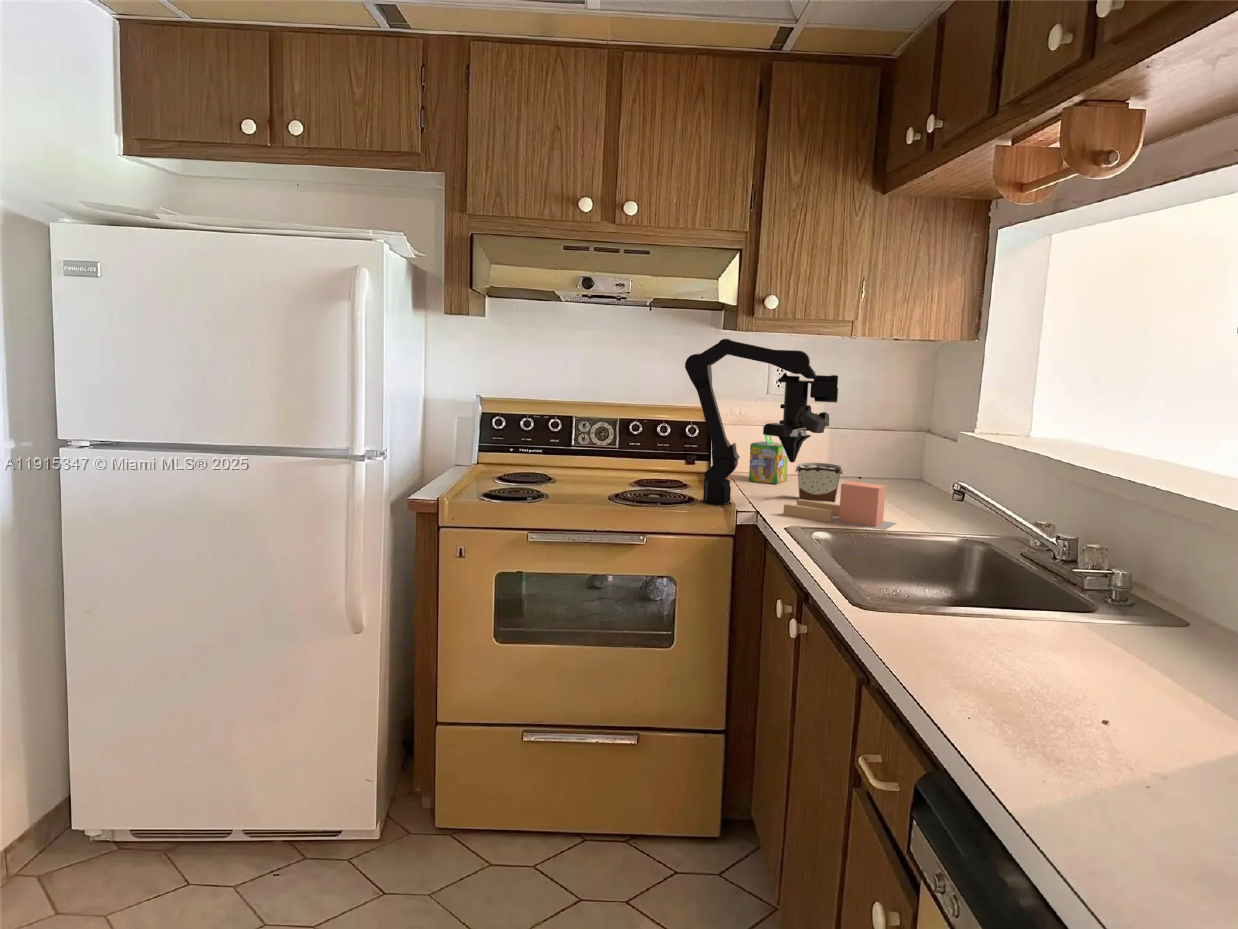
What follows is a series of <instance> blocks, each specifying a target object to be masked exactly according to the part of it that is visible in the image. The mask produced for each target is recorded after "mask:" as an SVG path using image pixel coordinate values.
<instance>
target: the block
mask: <svg viewBox="0 0 1238 929" xmlns="http://www.w3.org/2000/svg"><path fill="white" fill-rule="evenodd" d="M886 488H887V487H886V485H882V484H875V483H868V482H858V481H850V480H848V481H845V482H843V483H841V484H840V498H839V505H840V509H839V521H843V522H849V523H856V524H863V525H869V526H878V525H880V524H882V523H883V521H884V515H885V514H884V512H885V500H886V499H885V498H886Z"/></svg>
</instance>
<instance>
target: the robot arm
mask: <svg viewBox="0 0 1238 929" xmlns="http://www.w3.org/2000/svg"><path fill="white" fill-rule="evenodd" d="M726 356H734V357H736V358H742V359H747V360H752V361H757V362H761V363H765V364H770V365H772V366H775V367H777V368H779V369H781V370H783V371H786V372H784V373H783V374H782V375H781V377H779V378H778V379H777V382H778V383H785V384H784V399H783V400H784V401H783V403H781V404H780V406H779V407H780V409H783V416H782V419H781V420H779V423H777V422H770V423H769V422H768V423H766V424H764V426H763V428H762V434H763V435H764V436H765V435H771V437H776V438H779V441H780V443H782V445H783V447H784V449H785V452H786V454H787V457H788V461H789V463H795V462H796V459H797V457H798V455H799V452H800V450H801V448H802V445H803V444H804V441H806V440H807V439H808V438H811V436H812V435H811V434H807V431H808V432H809V433H810V432H811V433H812V434H823V433H824V431H825V428H826V427H829V426H830V414H829V413H827V412H825V411H822V412H819V413H814V412H812V407H811V405H810V404H808V395H809V384H810V395H809V396H810V398H812V399H814V402H817V403H835V404H836V403H838V395H839V387H838V385H839V375H837V374H831V375H824V374H823V375H821V374H820V375H818V374H816V371H815V370H814V369H813V368H812V366H811V365H810V364H811V359H810V356H809V354H807V352H805V351H803V350H796V349H795V350H793V349H791V350H789V349H773V348H768V347H763V346H758V345H755V344H749V343H745V342H739V341H737V340H732V339H729V338H723V339H721V340H720V341H719V342H718V343H715V344H714V345H712V346H710V347H709V348H708V349H706V350H705V351H703V352H701V353H694V354H691V355H689V356H688V357H687V358H686V361H685V363H684V368H685V371H686V374H687V375H688V377H689V379H690V381H691V383H692V385H693V386H694V387H695V390H696V393H697V395H698V399H699V402H700V407H701V410H702V412H703V413H702V414H703V417H704V420H705V424H706V427H707V430H708V435H709V438H710V442H711V461H712V462H711V463H712V465H711V466H710V467H709V468H708V469H707V470H706V471H704V474H703V475H704V478H703V494H702V497H703V498H701V499H699V500H698V501H699V503H705V504H708V505H714V506H722V505H727V504H726V503H728V502H729V501H730V500H731V495H732V494H731V493H732V490H731V489H732V487H731V480H730V479H728V477H729V476H730V475H731V474H732V473H733V472H735V470H736V469H737V467H738V464H739V461H738V460H739V459H740V458H741V457H740V455H739V453H738V452H737V443H736V442H733V443H730V441H729V440H728V438H727V435H726V431H725V426H724V425H723V420H722V417H721V413H720V410H719V405H718V402H717V398H716V395H715V392H714V388H713V372H712V365H714V364H716V363H718V362H719V361H720V360H722V359H724V357H726ZM787 372H789V373H791V374H794V375H789V374H787ZM800 375H801V376H802V377H803V378H805V379H806V380H802V379H800V378H801V377H800Z"/></svg>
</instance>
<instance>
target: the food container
mask: <svg viewBox="0 0 1238 929" xmlns="http://www.w3.org/2000/svg"><path fill="white" fill-rule="evenodd" d="M795 473H797V481H798V483H797V485H798V499H803V500H810V501H817V502H827V503H836V500H837V494H838V489H839V482H840V477H841V475H843V469H842V466H840V465H838V464H834V463H833V464H832V463H825V462H824V463H823V462H801V463H798V464H797V465H796V469H795Z"/></svg>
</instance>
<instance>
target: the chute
mask: <svg viewBox="0 0 1238 929" xmlns="http://www.w3.org/2000/svg"><path fill="white" fill-rule="evenodd" d="M839 509H840V503H838V504H836V503H832V502H825V501H813V500H803V499H799V498H798V499H796V504H791V503H785V504H783V512H780V515H782V516H787V517H795V518H803V519H810V520H815V521H824V522H829V523H834V524H840V525H841V524H842V525H847V526H854V527H862V528H867V529H868V528H869V529H876V530H882V531H886V530H888V529H890V528H892V527H893V526H895V525H897V524H898V523H897V522H893V521H892V522H891V521H886V520H883V523H882V524H880V525H878V526H869V525H863V524H856V523H849V522H843V521H839Z"/></svg>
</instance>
